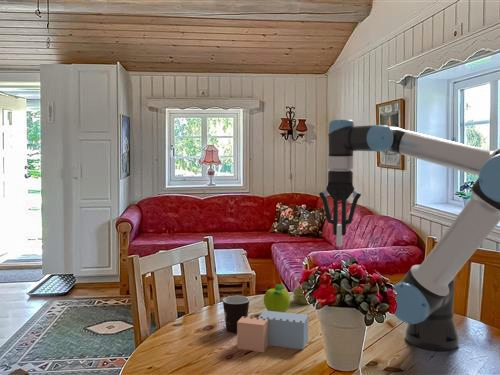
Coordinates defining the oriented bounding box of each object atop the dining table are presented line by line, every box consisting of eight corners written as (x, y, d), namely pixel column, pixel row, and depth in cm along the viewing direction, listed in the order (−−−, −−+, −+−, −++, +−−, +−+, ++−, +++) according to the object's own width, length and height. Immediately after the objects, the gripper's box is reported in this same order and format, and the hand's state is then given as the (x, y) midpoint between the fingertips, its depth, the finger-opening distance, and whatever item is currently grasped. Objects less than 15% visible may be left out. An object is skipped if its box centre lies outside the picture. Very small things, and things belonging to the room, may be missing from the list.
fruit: (291, 310, 176) (291, 283, 175) (287, 319, 167) (287, 291, 166) (266, 308, 178) (266, 281, 177) (261, 317, 169) (261, 289, 168)
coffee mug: (246, 335, 153) (246, 304, 152) (219, 333, 155) (219, 303, 154) (253, 322, 164) (253, 293, 163) (228, 320, 166) (228, 292, 165)
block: (268, 345, 146) (268, 318, 145) (263, 352, 141) (263, 324, 140) (242, 341, 148) (242, 315, 147) (237, 348, 143) (237, 321, 142)
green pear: (288, 301, 186) (289, 276, 185) (301, 297, 191) (302, 272, 191) (303, 306, 181) (303, 279, 180) (316, 301, 186) (316, 276, 185)
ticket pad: (308, 340, 149) (308, 314, 149) (303, 349, 143) (303, 322, 142) (264, 335, 153) (264, 309, 153) (257, 343, 147) (257, 317, 146)
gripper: (362, 169, 152) (361, 244, 154) (321, 169, 156) (320, 242, 158) (361, 171, 145) (359, 249, 147) (317, 170, 149) (316, 246, 151)
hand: (339, 245), depth 153 cm, fingers closed
